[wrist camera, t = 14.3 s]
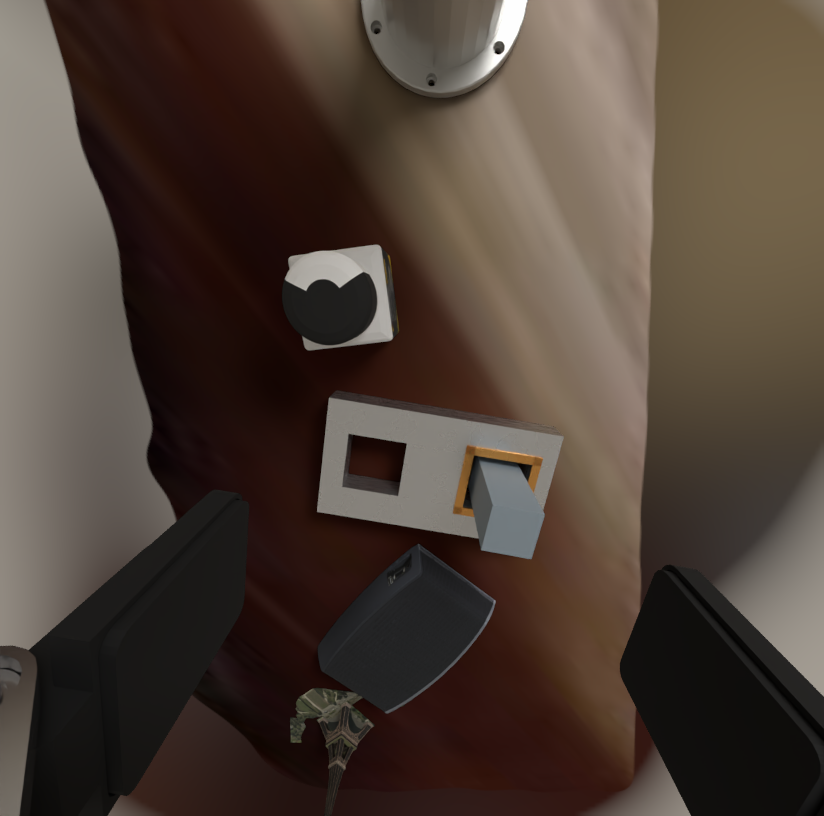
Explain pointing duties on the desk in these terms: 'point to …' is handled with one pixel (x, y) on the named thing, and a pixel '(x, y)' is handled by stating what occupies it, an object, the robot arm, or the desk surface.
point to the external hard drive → (405, 630)
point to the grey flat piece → (426, 461)
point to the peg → (504, 508)
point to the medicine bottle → (341, 297)
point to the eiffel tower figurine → (332, 729)
